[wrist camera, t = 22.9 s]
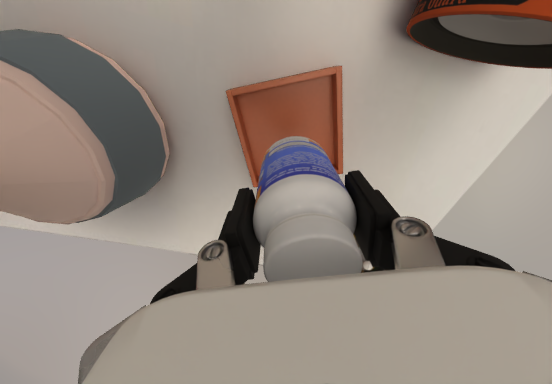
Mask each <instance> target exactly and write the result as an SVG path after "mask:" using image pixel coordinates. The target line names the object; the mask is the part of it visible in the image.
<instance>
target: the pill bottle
mask: <svg viewBox="0 0 552 384" xmlns="http://www.w3.org/2000/svg"><path fill="white" fill-rule="evenodd" d="M356 223H357V213H356V208H355V205H354V203H353V201H352V199H351V197H350V195H349V193H348V191H347V190H346V188H345V186H344V184H343V183H342V181H341V179H340V177H339V176H338V174H337V172H336V170H335V169H334V167H333V165H332V163H331V161H330V159H329V158H328V156H327V154H326V152H325V151H324V149H323V148H322V147H321V146H320V145H319V144H318V143H316V142H315V141H313V140H311V139H309V138H306V137H301V136H292V137H286V138H283V139H281V140H279V141H277V142H276V143H274V144H273V145H272V146H271V147H270V148H269V149H268V150H267V152H266V154H265V155H264V158H263V161H262V165H261V171H260V176H259V183H258V189H257V195H256V201H255V207H254V214H253V229H254V232H255V235H256V238H257V239H258V241H259V243H260V244H261V245H262V246H263V247H264V266H263V267H264V274H265V277H266V279H267V281H268V282H272V281H282V280H292V279H303V278H313V277H323V276H333V275H344V274H355V273H361V270H362V264H363V263H362V257H361V253H360V251H359V248H358V246H357V243H356V241H355V238H354V235H353V233H354V231H355V228H356Z"/></svg>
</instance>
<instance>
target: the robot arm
mask: <svg viewBox="0 0 552 384" xmlns="http://www.w3.org/2000/svg"><path fill="white" fill-rule="evenodd" d="M345 188H346V190H347V191H348V193H349V195H350V197H351V199H352V201H353V203H354V205H355V208H356V213H357V223H356V228H355V231H354V235H355V238H356V240H357V242H358V244H359V247H360V249H361V251H362V253H363V256H364V258H365V260H366V261H370V263H371V265H372V267H381V268H383V269H384V271H376V272H365V273H355V274H344V275H333V276H323V277H313V278H303V279H292V280H282V281H272V282H263V283H253V284H245V282H246V281H247V280H249V279H254V273H256V272H257V271H258V264H259V255H260V246H261V244H260V243H259V241H258V239H257V238H256V235H255V232H254V229H253V214H254V207H255V201H256V200H255V197H254V193H253V190H252V189H251V190H250V189H249V188H242V189H239V191H238V194H237V197H236V200H235V203H234V206H233V209H232V211H229V212H228V214H227V217H226V219H225V222H224V225H223V228H222V230H221V233H220V236H219V239H218V240H215V241H211V242H209V243H207V244H206V245H205V246H203V248H202V249H201V250H200V251H199V253H198V261H197V263H196V264H195V265H194V266H192V267H191V268H190V269H188V270H187V271H185V272H184V273H183V274H181V275H180V276H179V277H177V278H176V279H175V280H173V281H172V282H171V283H169V284H168V285H167V286H165V287H164V288H162V289H161V290H160V291H159V292H158V293H157V294H156V295H155V296H154V297H153V299H152V301H151V303H150V305H148V306H146V305H145V306H143V307H142V308H140V309H139V310H138V311H136V312H135V313H133V314H132V315H130V316H129V317H127V318H126V319H125V320H123V321H122V322H120V323H119V324H117V325H116V326H114V327H113V328H112V329H110V330H109V331H107V332H106V333H104V334H103V335H101V336H100V337H99V338H97V339H96V340H95V341H94V342H93V343H92V344H91V345H90V346H89V347H88V348H87V350H86V351H85V353H84V354H83V356H82V358H81V361H80V367H79V378H78V384H552V280H549V279H546V278H542V277H539V276H537V275H534V274H530V273H527V272H524V271H523V272H522V273H521V272H516V271H515V270H514V269H513V268H512V267H511V266H510V265H509V264H507V263H505V262H503V261H502V260H500V259H498V258H496V257H493V256H491V255H488V254H485V253H482V252H479V251H477V250H474V249H471V248H468V247H465V246H462V245H459V244H456V243H453V242H450V241H447V240H445V239H442V238H439V237H436V236H434V235H433V232H432V230H431V228H430V226H429V225H428V224H427V223H425V222H424V221H422V220H420V219H417V218H414V217H408V216H407V217H400V216H399V214H398V213H397V212H396V211H395V210H394V208H393V207H392V206H391V205H390V203H389V202H388V201H387V200H386V198H385V197H384V196H383V195H382V193H381V192H380V191H379V190H374V189H373V188H372V186H371V185H370V184H369V183H368V181H367V180H366V179H365V177H364V176H363V175H362V174H361V172H360V171H359V170H358V171H351V172H348V175H345Z"/></svg>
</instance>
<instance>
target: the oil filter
mask: <svg viewBox="0 0 552 384" xmlns="http://www.w3.org/2000/svg"><path fill="white" fill-rule="evenodd" d="M406 31H407V33H408V35H409V36H410V37H411V38H412V39H413V40H414V41H416V42H417V43H419V44H421V45H422V46H425V47H427V48H429V49H432V50H434V51H437V52H440V53H443V54H447V55H450V56H454V57H458V58H462V59H466V60H471V61H476V62H482V63H488V64H495V65H503V66H512V67H524V68H547V69H552V0H419V2H418V5H417V7H416V9H415V11H414V13H413V15H412V17H411V19H410V21H409V23H408V26H407V28H406Z"/></svg>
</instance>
